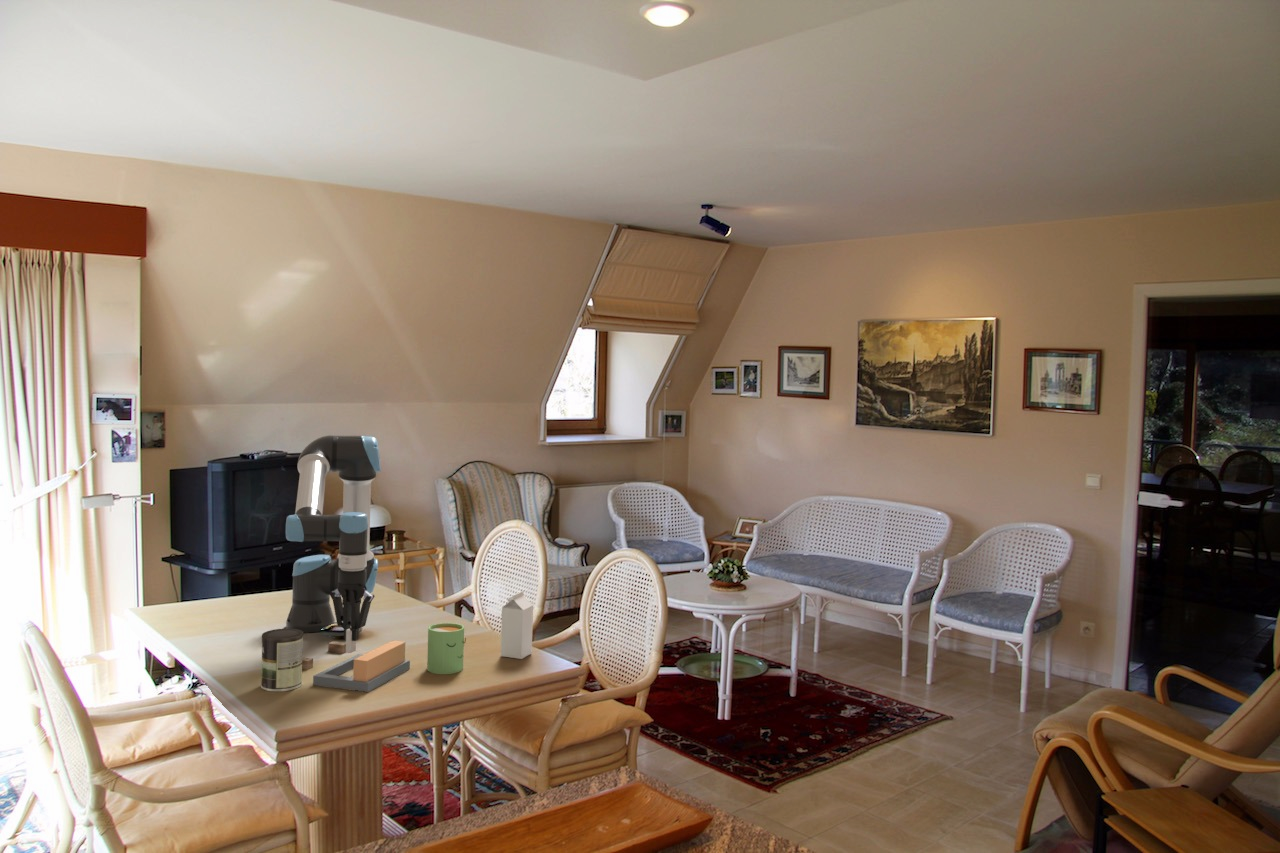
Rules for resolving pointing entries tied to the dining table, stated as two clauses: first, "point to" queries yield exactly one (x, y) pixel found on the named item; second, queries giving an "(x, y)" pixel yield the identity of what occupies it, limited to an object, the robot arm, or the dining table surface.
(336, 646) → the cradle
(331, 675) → the board with u-shaped cutout
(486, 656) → the dining table surface
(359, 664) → the strip
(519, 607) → the milk carton
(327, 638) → the dining table surface
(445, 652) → the mug
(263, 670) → the coffee can
